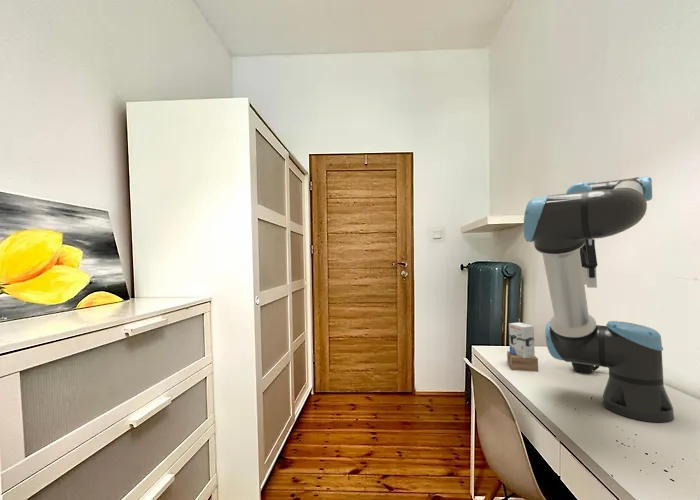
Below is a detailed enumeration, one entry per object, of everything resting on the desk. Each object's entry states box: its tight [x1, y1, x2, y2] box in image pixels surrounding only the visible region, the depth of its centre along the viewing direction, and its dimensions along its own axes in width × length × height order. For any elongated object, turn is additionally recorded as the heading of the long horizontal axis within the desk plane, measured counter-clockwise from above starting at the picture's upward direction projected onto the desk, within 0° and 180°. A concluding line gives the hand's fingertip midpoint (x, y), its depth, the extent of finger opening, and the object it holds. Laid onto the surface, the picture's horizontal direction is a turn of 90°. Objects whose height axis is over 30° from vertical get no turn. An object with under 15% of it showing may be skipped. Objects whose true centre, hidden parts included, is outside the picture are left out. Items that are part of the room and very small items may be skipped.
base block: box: [506, 350, 539, 372], centre depth 136 cm, size 9×9×5 cm
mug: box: [571, 362, 600, 375], centre depth 129 cm, size 8×12×10 cm
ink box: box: [508, 322, 536, 358], centre depth 136 cm, size 8×5×12 cm, turn 12°
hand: (588, 286), depth 125 cm, fingers open, 13 cm apart
